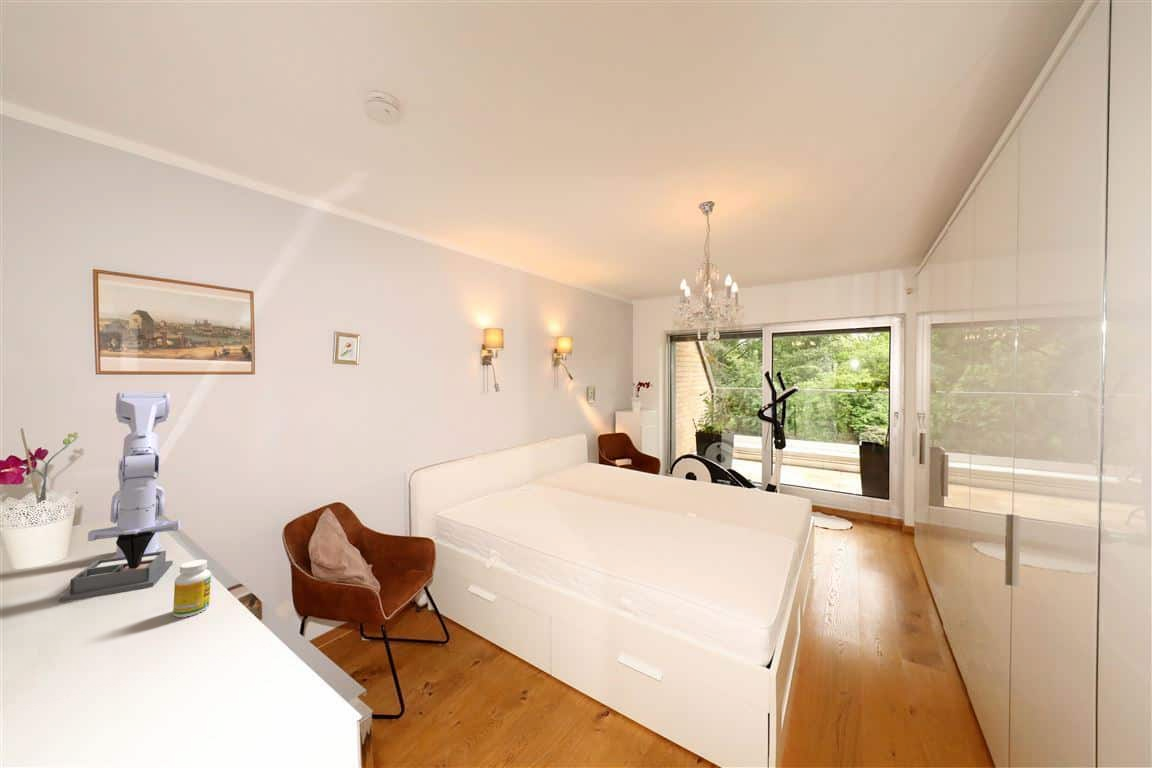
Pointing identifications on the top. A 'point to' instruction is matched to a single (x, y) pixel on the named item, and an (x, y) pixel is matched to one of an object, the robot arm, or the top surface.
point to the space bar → (124, 561)
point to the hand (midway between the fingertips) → (134, 566)
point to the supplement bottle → (192, 589)
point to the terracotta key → (136, 568)
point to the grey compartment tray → (116, 577)
